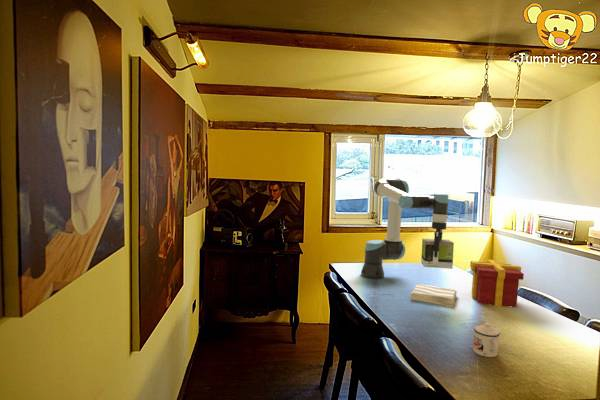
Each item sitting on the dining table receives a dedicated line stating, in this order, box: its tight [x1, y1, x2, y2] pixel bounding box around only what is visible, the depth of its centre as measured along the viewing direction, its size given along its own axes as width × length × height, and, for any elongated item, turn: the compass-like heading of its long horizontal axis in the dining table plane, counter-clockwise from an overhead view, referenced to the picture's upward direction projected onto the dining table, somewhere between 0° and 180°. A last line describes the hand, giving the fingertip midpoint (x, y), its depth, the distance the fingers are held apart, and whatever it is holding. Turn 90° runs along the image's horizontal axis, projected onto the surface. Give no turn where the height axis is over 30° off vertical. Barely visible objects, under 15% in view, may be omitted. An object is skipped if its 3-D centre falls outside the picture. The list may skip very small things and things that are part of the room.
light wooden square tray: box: [410, 283, 457, 307], centre depth 224 cm, size 20×22×4 cm
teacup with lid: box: [472, 322, 500, 358], centre depth 156 cm, size 12×9×12 cm
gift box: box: [469, 259, 524, 308], centre depth 225 cm, size 25×25×20 cm
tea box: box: [420, 238, 455, 270], centre depth 222 cm, size 15×10×15 cm, turn 83°
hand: (436, 260), depth 223 cm, fingers closed on tea box, 11 cm apart
